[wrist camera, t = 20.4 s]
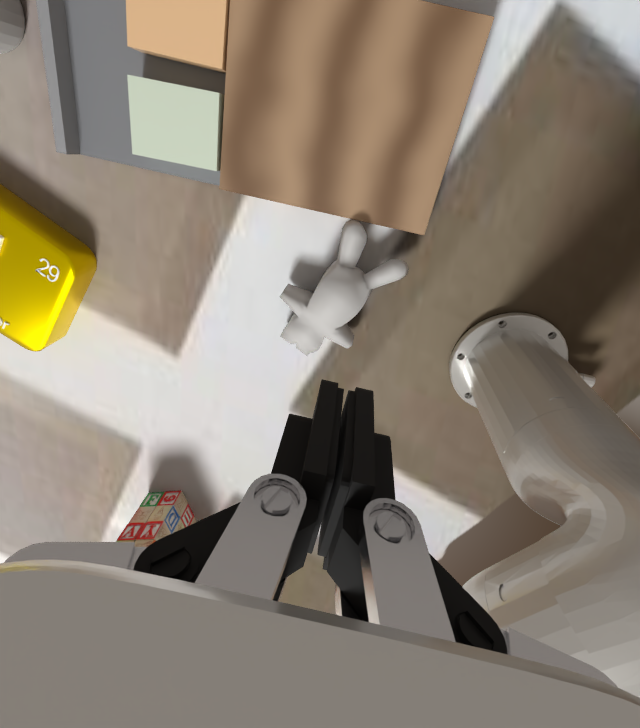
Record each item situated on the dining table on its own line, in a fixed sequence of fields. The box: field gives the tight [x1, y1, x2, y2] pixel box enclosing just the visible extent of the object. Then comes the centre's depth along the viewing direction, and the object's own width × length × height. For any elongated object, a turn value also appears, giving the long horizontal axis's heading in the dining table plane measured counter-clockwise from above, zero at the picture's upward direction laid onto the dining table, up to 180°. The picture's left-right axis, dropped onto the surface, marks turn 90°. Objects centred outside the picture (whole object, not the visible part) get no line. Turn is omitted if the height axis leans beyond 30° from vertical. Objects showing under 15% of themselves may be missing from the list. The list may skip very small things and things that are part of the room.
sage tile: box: [127, 75, 225, 171], centre depth 35 cm, size 8×6×2 cm
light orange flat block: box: [126, 0, 230, 73], centre depth 31 cm, size 8×6×2 cm
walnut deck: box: [219, 0, 494, 235], centre depth 33 cm, size 20×16×2 cm
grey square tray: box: [36, 0, 226, 186], centre depth 33 cm, size 16×16×2 cm
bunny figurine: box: [280, 219, 409, 356], centre depth 40 cm, size 10×5×15 cm
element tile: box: [0, 184, 97, 351], centre depth 43 cm, size 15×15×5 cm
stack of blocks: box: [116, 491, 197, 547], centre depth 61 cm, size 21×6×12 cm, turn 12°
